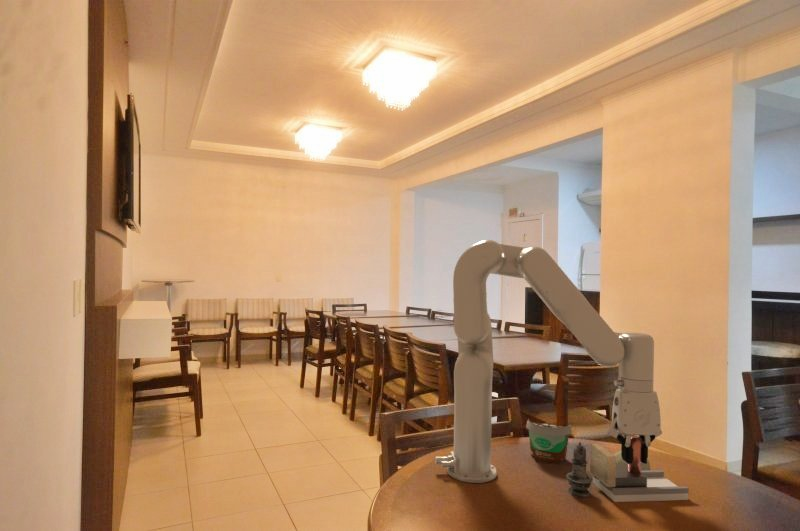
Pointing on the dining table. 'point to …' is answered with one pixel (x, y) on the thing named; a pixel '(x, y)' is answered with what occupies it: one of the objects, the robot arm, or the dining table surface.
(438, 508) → the dining table surface
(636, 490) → the press bed
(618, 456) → the sea urchin shell
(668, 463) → the dining table surface
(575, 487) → the grey figurine
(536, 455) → the food container
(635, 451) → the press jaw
